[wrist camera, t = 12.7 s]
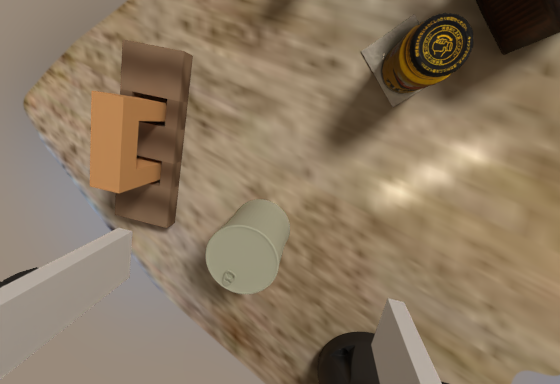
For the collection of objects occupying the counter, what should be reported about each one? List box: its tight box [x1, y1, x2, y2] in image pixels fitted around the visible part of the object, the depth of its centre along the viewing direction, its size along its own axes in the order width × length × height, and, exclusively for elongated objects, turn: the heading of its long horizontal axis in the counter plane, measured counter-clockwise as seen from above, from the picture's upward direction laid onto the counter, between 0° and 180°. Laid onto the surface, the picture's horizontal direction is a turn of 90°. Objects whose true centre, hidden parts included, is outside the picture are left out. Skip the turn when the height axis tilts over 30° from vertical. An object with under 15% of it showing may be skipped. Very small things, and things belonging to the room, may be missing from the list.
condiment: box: [361, 13, 473, 107], centre depth 30 cm, size 7×8×12 cm
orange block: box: [90, 91, 167, 193], centre depth 38 cm, size 12×4×10 cm, turn 168°
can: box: [205, 199, 290, 294], centre depth 38 cm, size 9×9×12 cm
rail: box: [115, 40, 193, 228], centre depth 42 cm, size 26×9×2 cm, turn 168°
